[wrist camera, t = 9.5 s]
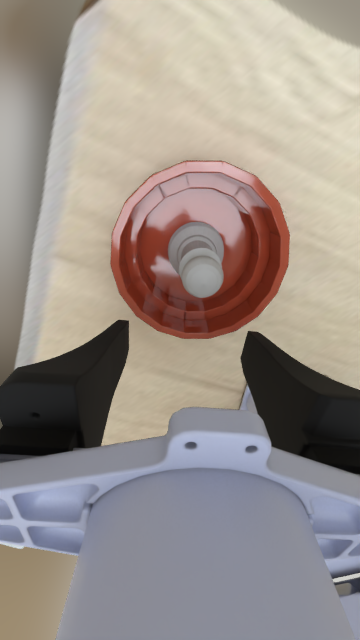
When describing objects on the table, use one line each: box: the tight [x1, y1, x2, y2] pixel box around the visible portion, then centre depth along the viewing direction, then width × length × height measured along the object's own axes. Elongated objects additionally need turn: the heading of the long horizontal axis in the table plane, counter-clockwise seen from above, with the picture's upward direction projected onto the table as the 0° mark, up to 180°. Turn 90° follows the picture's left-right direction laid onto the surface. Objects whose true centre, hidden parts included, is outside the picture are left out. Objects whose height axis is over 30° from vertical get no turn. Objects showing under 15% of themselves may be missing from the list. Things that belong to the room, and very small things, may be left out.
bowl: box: [111, 161, 290, 339], centre depth 19 cm, size 12×12×5 cm
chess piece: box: [168, 222, 224, 298], centre depth 17 cm, size 5×5×8 cm
